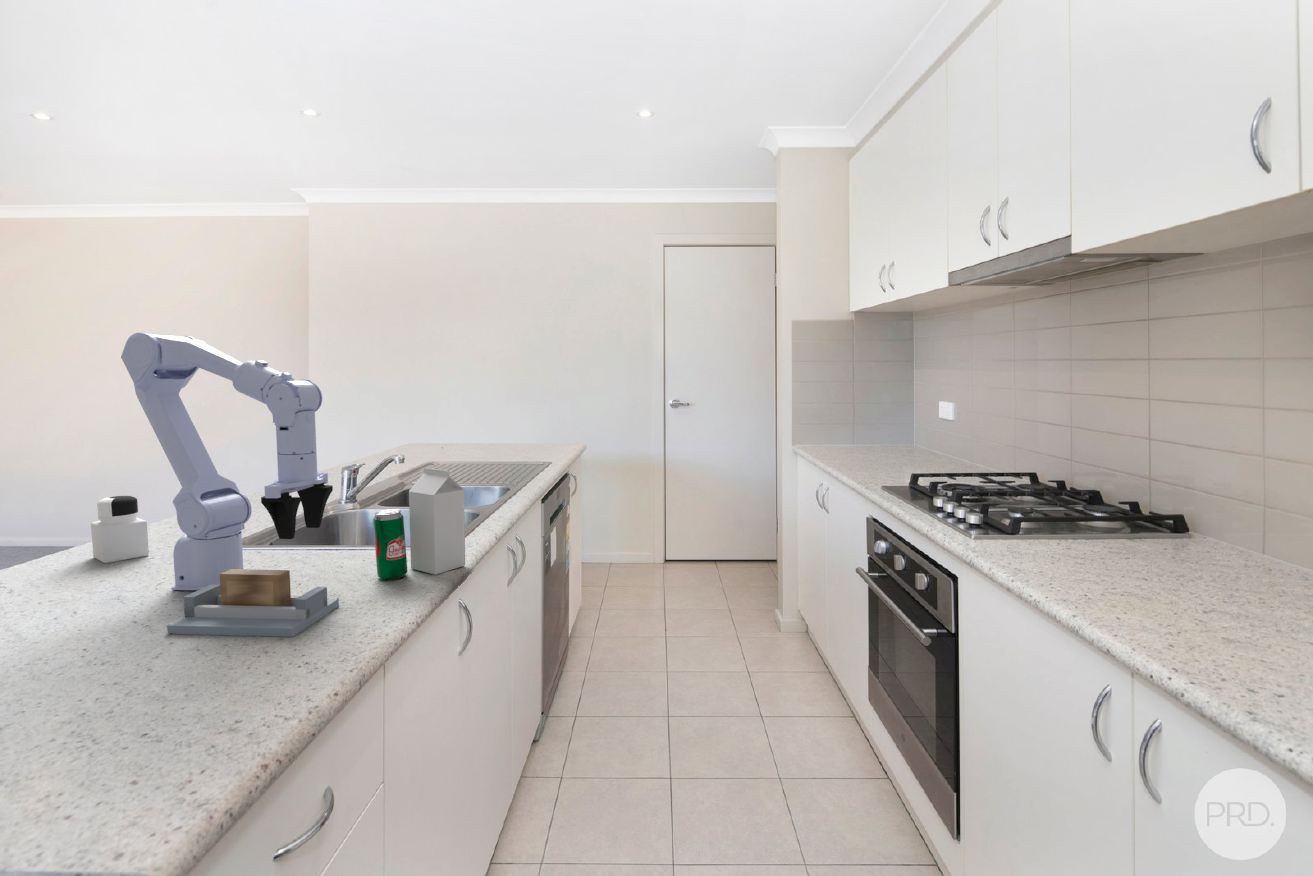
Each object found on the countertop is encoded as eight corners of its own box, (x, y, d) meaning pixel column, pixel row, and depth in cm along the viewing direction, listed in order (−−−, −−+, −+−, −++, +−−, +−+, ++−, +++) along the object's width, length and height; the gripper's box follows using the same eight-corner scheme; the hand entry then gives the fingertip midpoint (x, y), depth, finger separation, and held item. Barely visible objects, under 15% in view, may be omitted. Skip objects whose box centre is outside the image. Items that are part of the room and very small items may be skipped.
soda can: (391, 582, 112) (386, 516, 110) (371, 579, 114) (366, 513, 112) (413, 573, 116) (409, 509, 115) (394, 570, 118) (389, 507, 117)
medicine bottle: (137, 549, 131) (134, 492, 130) (149, 555, 127) (145, 496, 125) (92, 557, 125) (88, 497, 124) (103, 564, 121) (99, 502, 120)
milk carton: (435, 575, 116) (433, 473, 114) (410, 569, 120) (407, 469, 118) (465, 566, 122) (464, 468, 120) (441, 560, 126) (439, 465, 124)
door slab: (221, 613, 93) (219, 574, 93) (233, 607, 96) (231, 569, 95) (281, 615, 93) (279, 575, 92) (291, 608, 95) (289, 570, 95)
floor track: (167, 633, 89) (165, 604, 88) (227, 603, 101) (226, 577, 100) (293, 636, 88) (291, 607, 88) (338, 606, 100) (337, 580, 100)
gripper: (294, 458, 98) (298, 544, 99) (343, 448, 112) (346, 523, 114) (249, 457, 98) (254, 543, 99) (304, 447, 113) (307, 522, 114)
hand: (300, 532), depth 106 cm, fingers open, 7 cm apart
